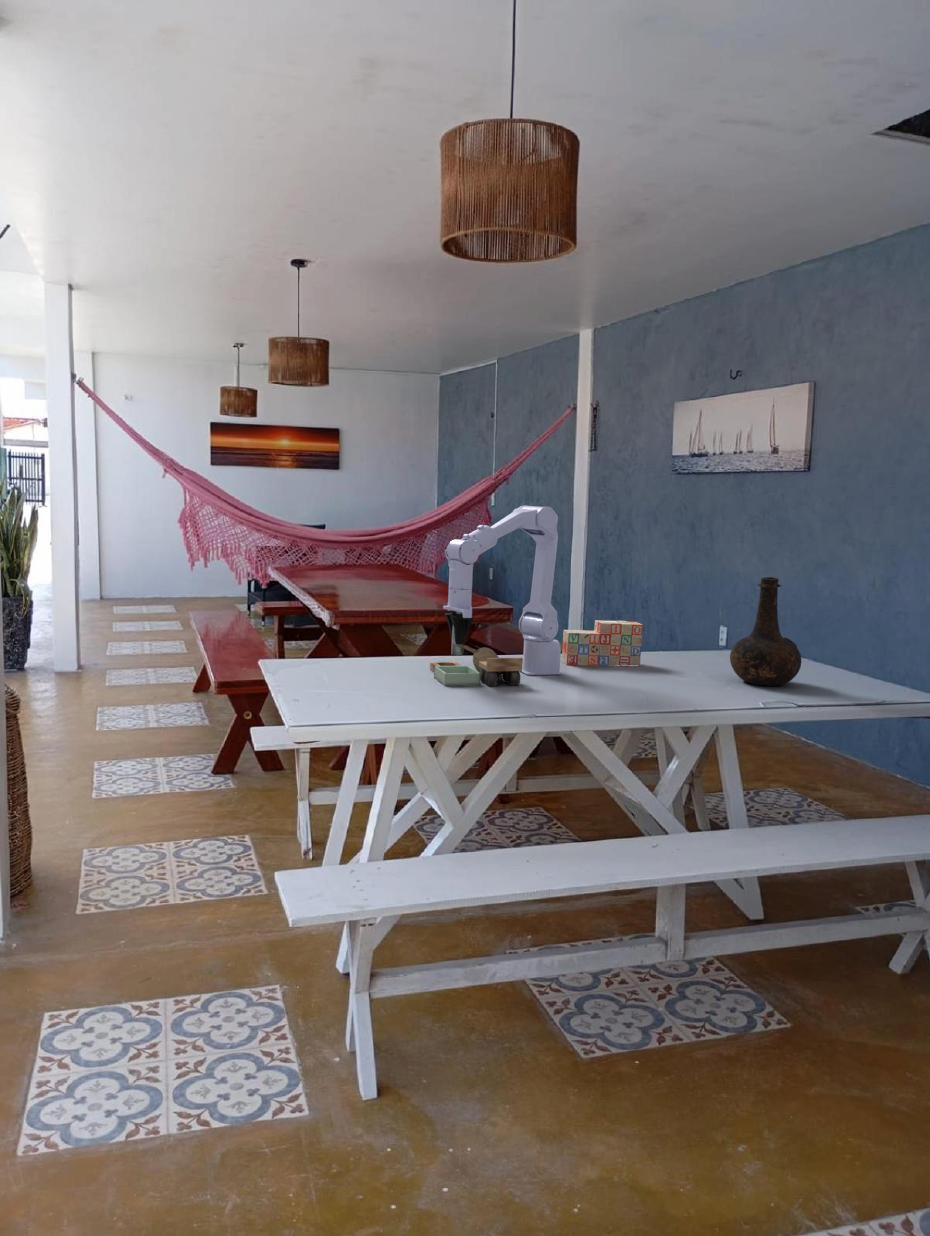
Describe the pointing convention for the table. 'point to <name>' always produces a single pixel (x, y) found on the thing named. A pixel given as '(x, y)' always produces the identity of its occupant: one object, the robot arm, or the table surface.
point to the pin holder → (442, 664)
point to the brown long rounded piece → (484, 658)
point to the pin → (456, 648)
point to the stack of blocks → (604, 644)
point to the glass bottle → (766, 645)
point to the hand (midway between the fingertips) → (458, 643)
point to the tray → (457, 675)
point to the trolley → (501, 664)
